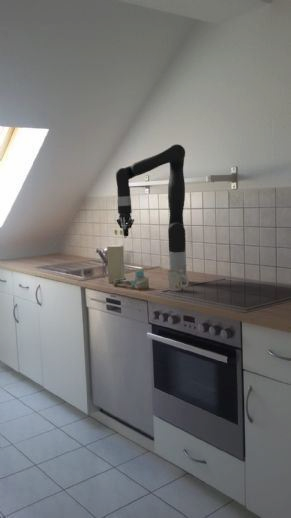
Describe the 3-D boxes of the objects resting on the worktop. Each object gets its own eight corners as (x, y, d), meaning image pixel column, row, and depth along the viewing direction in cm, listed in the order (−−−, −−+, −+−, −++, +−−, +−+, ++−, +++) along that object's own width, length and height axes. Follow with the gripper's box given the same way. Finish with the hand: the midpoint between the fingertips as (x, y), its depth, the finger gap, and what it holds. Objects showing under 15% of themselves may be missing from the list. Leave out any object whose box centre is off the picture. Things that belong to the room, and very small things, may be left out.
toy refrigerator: (125, 280, 299) (123, 245, 296) (121, 283, 292) (119, 246, 289) (112, 280, 301) (110, 245, 298) (108, 282, 294) (106, 246, 291)
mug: (174, 288, 269) (173, 269, 267) (193, 290, 261) (193, 270, 259) (164, 290, 262) (163, 271, 261) (184, 292, 254) (183, 273, 253)
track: (148, 287, 273) (148, 276, 272) (137, 290, 267) (137, 278, 267) (124, 284, 287) (124, 273, 287) (113, 286, 282) (113, 275, 281)
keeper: (144, 285, 273) (143, 270, 272) (137, 286, 270) (136, 271, 269) (138, 284, 277) (137, 269, 276) (131, 285, 273) (130, 270, 272)
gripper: (137, 204, 279) (139, 235, 281) (122, 204, 289) (123, 235, 291) (127, 205, 274) (128, 237, 276) (111, 205, 284) (113, 236, 286)
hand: (126, 236), depth 284 cm, fingers closed
